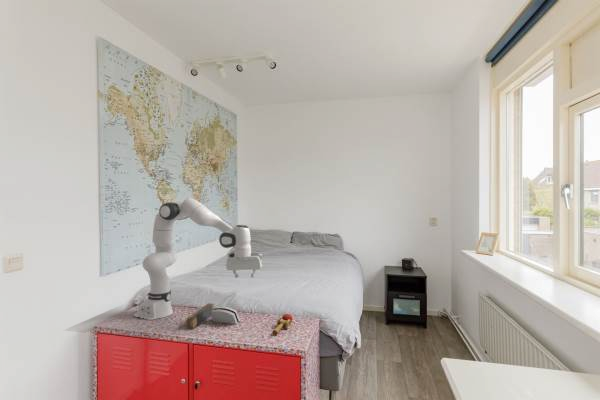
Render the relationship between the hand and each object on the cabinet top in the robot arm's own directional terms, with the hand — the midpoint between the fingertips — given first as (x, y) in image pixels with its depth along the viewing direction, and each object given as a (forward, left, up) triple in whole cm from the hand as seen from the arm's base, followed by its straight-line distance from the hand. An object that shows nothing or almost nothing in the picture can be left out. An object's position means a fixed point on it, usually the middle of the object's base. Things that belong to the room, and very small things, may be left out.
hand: (244, 277), depth 172 cm
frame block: (-27, -1, -27) cm, 38 cm away
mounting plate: (-24, -1, -27) cm, 36 cm away
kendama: (+23, -3, -27) cm, 36 cm away
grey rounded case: (-12, 0, -27) cm, 29 cm away
